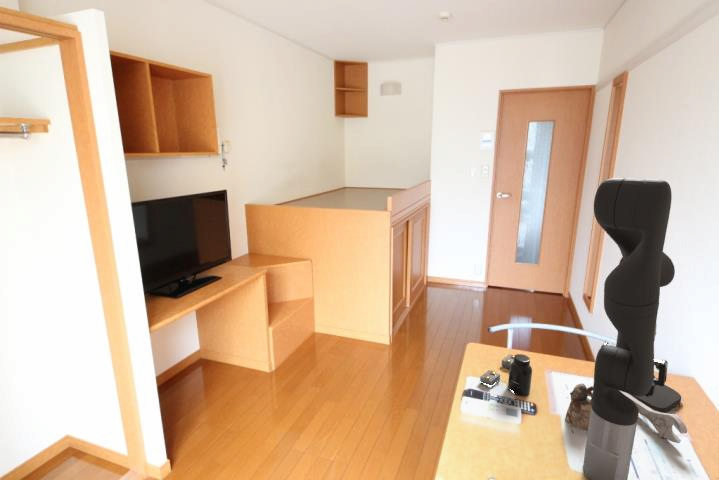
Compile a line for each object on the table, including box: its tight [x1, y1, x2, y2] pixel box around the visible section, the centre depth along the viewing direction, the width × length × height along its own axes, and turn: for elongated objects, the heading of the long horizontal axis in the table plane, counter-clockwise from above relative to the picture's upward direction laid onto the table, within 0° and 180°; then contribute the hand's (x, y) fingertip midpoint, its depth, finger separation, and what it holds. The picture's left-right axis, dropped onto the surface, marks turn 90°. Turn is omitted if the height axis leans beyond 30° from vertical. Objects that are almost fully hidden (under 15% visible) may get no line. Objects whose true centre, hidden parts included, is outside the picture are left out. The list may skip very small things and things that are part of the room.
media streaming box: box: [630, 384, 682, 414], centre depth 126 cm, size 15×15×3 cm
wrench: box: [619, 390, 688, 444], centre depth 117 cm, size 8×2×30 cm
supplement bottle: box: [507, 353, 533, 397], centre depth 129 cm, size 7×7×12 cm
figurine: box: [564, 383, 593, 430], centre depth 114 cm, size 7×7×12 cm
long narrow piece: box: [479, 353, 516, 385], centre depth 140 cm, size 21×4×3 cm, turn 134°
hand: (628, 388), depth 102 cm, fingers open, 8 cm apart
